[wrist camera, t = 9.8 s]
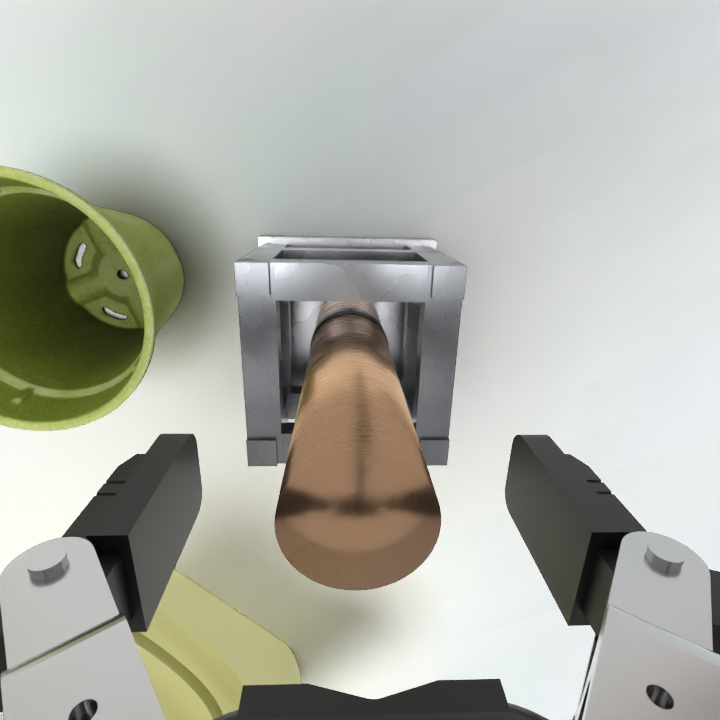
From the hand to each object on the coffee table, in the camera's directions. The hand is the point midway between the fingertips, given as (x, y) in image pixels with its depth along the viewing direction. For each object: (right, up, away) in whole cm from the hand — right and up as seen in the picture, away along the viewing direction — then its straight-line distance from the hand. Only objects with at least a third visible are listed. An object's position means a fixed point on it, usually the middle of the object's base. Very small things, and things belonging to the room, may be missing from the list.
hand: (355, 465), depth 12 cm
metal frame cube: (-1, +5, +14) cm, 15 cm away
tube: (-1, +5, +13) cm, 14 cm away
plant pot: (-12, +7, +13) cm, 19 cm away
